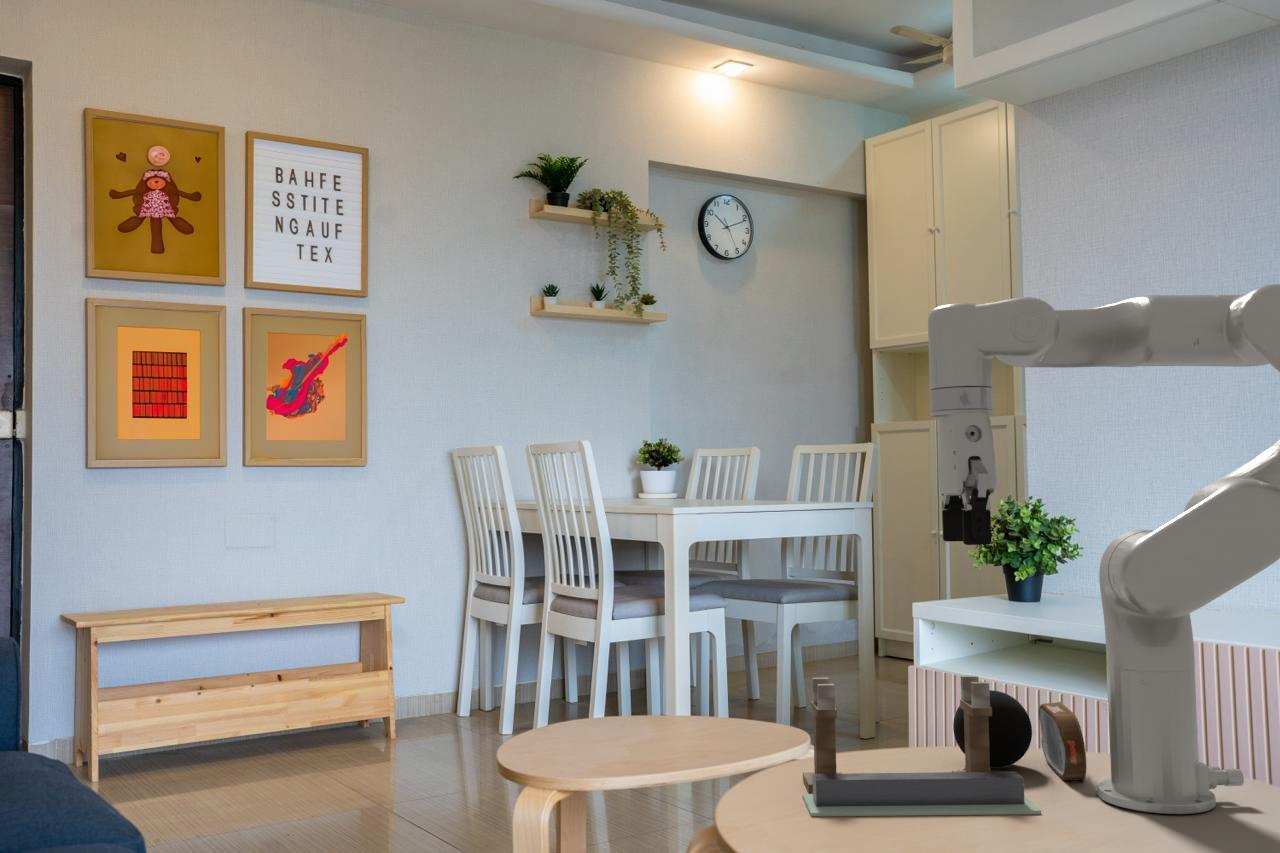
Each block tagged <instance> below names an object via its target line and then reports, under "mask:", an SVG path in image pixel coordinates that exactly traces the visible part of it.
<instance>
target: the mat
mask: <svg viewBox="0 0 1280 853" xmlns="http://www.w3.org/2000/svg"><path fill="white" fill-rule="evenodd" d="M802 799H803V802H804V803H805V806H806V808H807V811H808V813H809V815H810V817H874V816H875V817H883V816H886V817H887V816H890V817H891V816H894V817H896V816H976V815H977V816H979V815H982V816H983V815H985V816H987V815H989V816H991V815H992V816H993V815H994V816H995V815H997V816H1000V815H1003V816H1004V815H1005V816H1006V815H1042V810H1041V809H1040V808H1039V807H1037V806H1036V805H1035V804H1034V803H1033V802H1031V801H1030V799H1028V798H1027V797H1025V795H1024V802H1025V804H1009V805H920V806H831V807H816V805H815V802H814V800H813V793H802Z"/></svg>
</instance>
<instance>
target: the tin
mask: <svg viewBox="0 0 1280 853" xmlns="http://www.w3.org/2000/svg"><path fill="white" fill-rule="evenodd" d="M1038 720H1039V722H1040V734H1041V738H1040V739H1041V740H1040V742H1041V743H1040V744H1041V748H1042V751H1043V755H1044V758H1045V761H1046V763H1047V765H1048V766H1049V767H1050V768H1051V769H1052V770H1053V771H1054V772H1055V774H1057V776H1058V777H1059V778H1060V779H1061V780H1063V781H1079V780H1080V781H1084V780H1085V779H1086V775H1087V752H1086V747H1085V745H1086V744H1085V741H1084V736H1083V732H1082V727H1081V724H1080V722H1079V719H1078V717H1077V715H1076V714H1075V713H1074V712H1073V711H1072V710H1071V709H1069V707H1067V706H1066V705H1065V704H1064V703H1062V702H1061V701H1057V702H1047V703H1041V704H1040V705H1039V706H1038Z"/></svg>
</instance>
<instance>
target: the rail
mask: <svg viewBox="0 0 1280 853" xmlns="http://www.w3.org/2000/svg"><path fill="white" fill-rule="evenodd" d="M812 777H813V793H812V794H813V800H814V802H815V805H816V807H831V806H920V805H1009V804H1025V802H1024V796H1025V780H1024V777H1023V776H1022V775H1021V774H1020V773H1018V772H1017V771H993V772H952V771H950V772H947V771H945V772H944V771H943V772H940V771H939V772H935V771H934V772H873V773H871V772H867V773H865V772H861V773H860V772H859V773H856V772H855V773H851V772H850V773H848V772H847V773H843V774H812Z"/></svg>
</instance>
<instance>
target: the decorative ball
mask: <svg viewBox="0 0 1280 853" xmlns="http://www.w3.org/2000/svg"><path fill="white" fill-rule="evenodd" d="M990 707H991V708H992V716H988V723H989V752H990V769H1003V768H1006V767H1010V766H1012V765H1014V764H1015V763H1017V762H1019V761H1020V760H1021V759H1022V758H1023V757H1024V756H1025V754H1027V752H1028V750H1029V748H1030V746H1031V742H1032V739H1033V738H1032V737H1033V727H1032V726H1033V725H1032V722H1031V719H1030V716H1029V714H1028V712H1027V711H1026V709H1025V707H1024V706H1023V705H1022V704H1021V703H1020V702H1019V700H1017V699H1016V698H1015V697H1014V696H1011V695H1009V694H1007V693H1005V692H1004V691H1003V692H1002V691H999V690H991V689H990ZM952 726H953V728H952V729H953V735H954V738H955V742H956V744H957V746H958V747H959V750H960V751H961V752H962V753H963V754H964V755H965V735H964V710H963V709H962V708H960V705H959V706H958V707H957V709H956V711H955V714H954V717H953V725H952Z"/></svg>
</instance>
